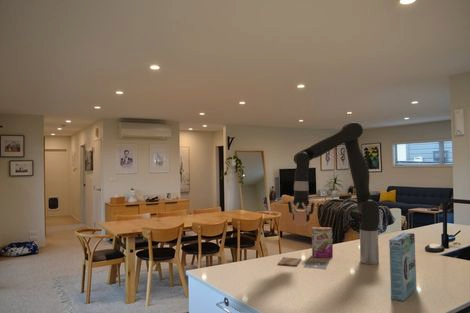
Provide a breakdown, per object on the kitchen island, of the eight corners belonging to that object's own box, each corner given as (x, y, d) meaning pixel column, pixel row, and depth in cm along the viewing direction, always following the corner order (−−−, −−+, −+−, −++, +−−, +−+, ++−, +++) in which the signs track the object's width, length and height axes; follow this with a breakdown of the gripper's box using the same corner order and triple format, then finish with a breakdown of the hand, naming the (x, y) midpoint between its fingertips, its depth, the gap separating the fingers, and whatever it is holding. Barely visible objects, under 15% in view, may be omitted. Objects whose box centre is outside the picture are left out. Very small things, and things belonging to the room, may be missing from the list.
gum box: (403, 301, 137) (402, 241, 138) (389, 298, 141) (388, 239, 141) (417, 288, 152) (415, 233, 153) (404, 285, 156) (402, 232, 156)
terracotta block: (308, 223, 195) (308, 210, 195) (305, 226, 187) (305, 212, 187) (297, 222, 197) (297, 209, 197) (293, 225, 189) (294, 211, 189)
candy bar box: (312, 257, 204) (312, 228, 204) (311, 255, 209) (311, 227, 209) (333, 258, 202) (332, 228, 203) (331, 255, 207) (331, 227, 208)
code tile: (328, 262, 194) (328, 262, 194) (325, 269, 181) (325, 269, 181) (307, 260, 197) (307, 260, 197) (303, 267, 184) (303, 267, 184)
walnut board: (301, 260, 198) (301, 258, 198) (296, 266, 186) (296, 264, 186) (283, 259, 202) (283, 257, 202) (277, 265, 189) (277, 263, 189)
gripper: (315, 189, 193) (315, 221, 193) (289, 188, 198) (288, 219, 198) (314, 190, 186) (313, 223, 186) (286, 189, 191) (286, 221, 191)
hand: (301, 221), depth 192 cm, fingers closed on terracotta block, 6 cm apart
